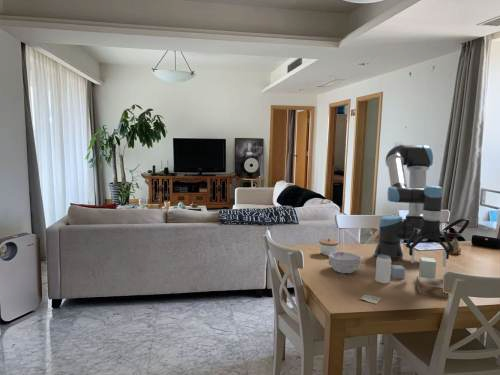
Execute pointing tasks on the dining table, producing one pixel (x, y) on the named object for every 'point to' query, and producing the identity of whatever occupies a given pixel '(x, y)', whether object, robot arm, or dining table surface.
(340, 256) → the paper bowls
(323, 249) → the lidded jar
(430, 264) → the sage block
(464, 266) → the dining table surface
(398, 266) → the slate block
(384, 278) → the can
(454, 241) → the ornament
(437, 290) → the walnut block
